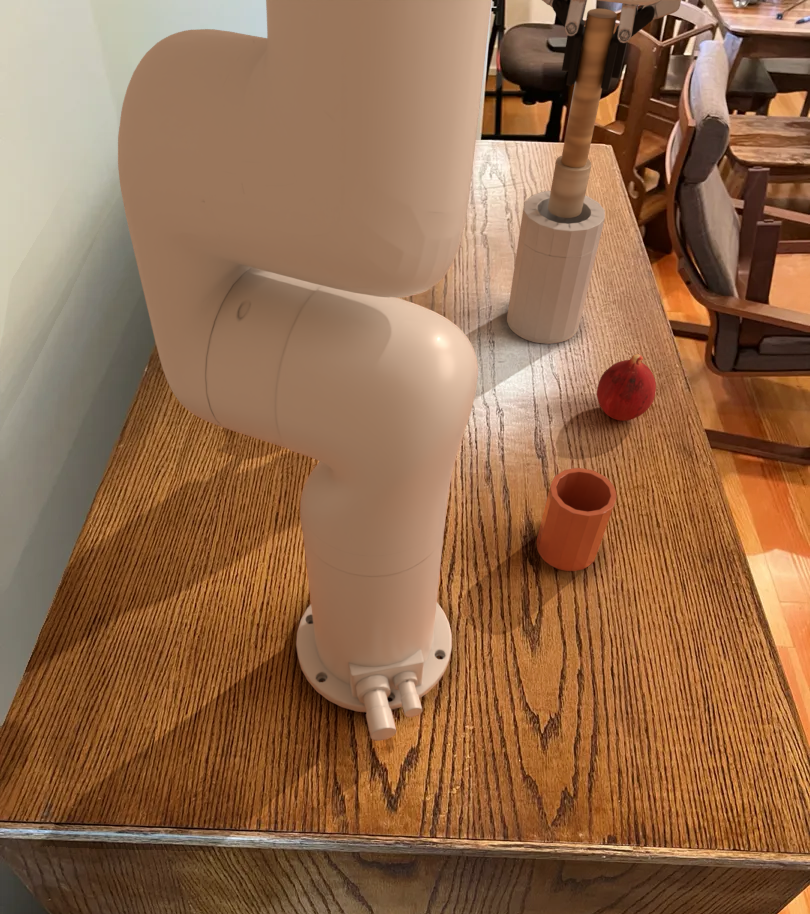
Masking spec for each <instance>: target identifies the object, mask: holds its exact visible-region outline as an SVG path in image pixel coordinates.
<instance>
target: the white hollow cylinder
mask: <svg viewBox="0 0 810 914" xmlns="http://www.w3.org/2000/svg"><path fill="white" fill-rule="evenodd" d="M550 192H551V190H543V191H539V192H537V193H535V194H532V195H530V197H528V198H527V199H526V200H525V201H524V203H523V208H522V215H521V221H520V227H519V228H520V229H519V235H518V241H517V248H516V254H515V261H514V268H513V275H512V279H511V280H512V282H511V287H510V295H509V301H508V309H507V313H506V323H507V325H508V327H509V329H510V330H511V332H513V333H514V334H515V335H517V336H518V337H520V338H522V339H523V340H526V341H529V342H533V343H536V344H544V345H545V344H546V345H547V344H549V345H551V344H559V343H563V342H566V341H568V340H570V339H572V338H573V337H575V335H576V334H577V333H578V330H579V327H580V325H581V320H582V316H583V311H584V307H585V303H586V300H587V295H588V291H589V287H590V282H591V278H592V274H593V270H594V265H595V261H596V258H597V253H598V248H599V244H600V240H601V236H602V233H603V228H604V224H605V220H606V210H605V208H604V207H603V206H602V205H601V204H600V202H598V201H597V200H595V199H593V198H591V197H590V196H588V195H585V198H584V203H583V208H582V212H581V214H580V215H578V216H576V217H573V218H562V217H558V216H555V215H553V214H552V213H550V212H549V210H548V204H549V198H550Z"/></svg>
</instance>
